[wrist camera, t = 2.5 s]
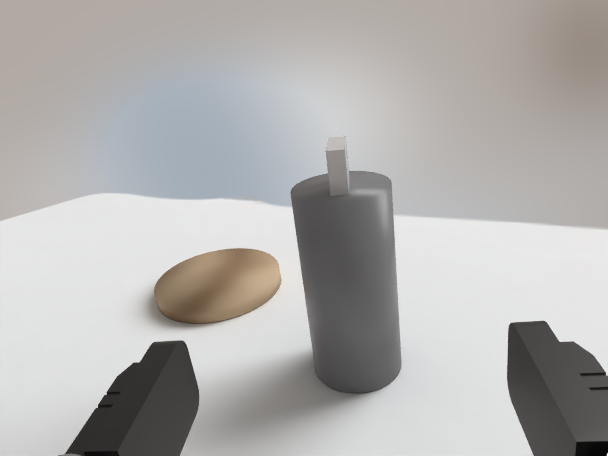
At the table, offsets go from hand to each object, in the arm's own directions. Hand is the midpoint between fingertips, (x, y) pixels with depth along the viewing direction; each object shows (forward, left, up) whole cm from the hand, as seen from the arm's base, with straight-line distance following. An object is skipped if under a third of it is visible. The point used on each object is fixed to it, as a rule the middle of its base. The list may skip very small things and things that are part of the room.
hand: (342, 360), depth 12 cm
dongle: (0, +11, -9) cm, 15 cm away
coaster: (-10, +20, -9) cm, 25 cm away
